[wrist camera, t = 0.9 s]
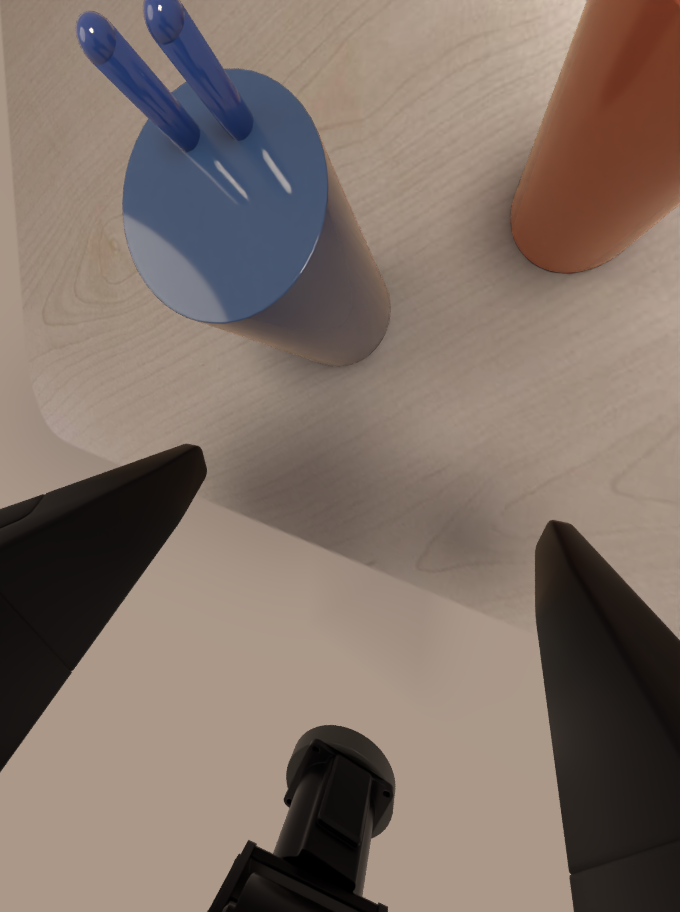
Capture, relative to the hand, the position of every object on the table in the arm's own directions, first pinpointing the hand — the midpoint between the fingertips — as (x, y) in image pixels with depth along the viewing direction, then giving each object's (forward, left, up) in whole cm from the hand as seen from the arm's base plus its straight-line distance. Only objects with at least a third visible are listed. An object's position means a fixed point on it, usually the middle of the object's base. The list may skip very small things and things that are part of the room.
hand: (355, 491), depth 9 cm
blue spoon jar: (+6, +7, -14) cm, 16 cm away
